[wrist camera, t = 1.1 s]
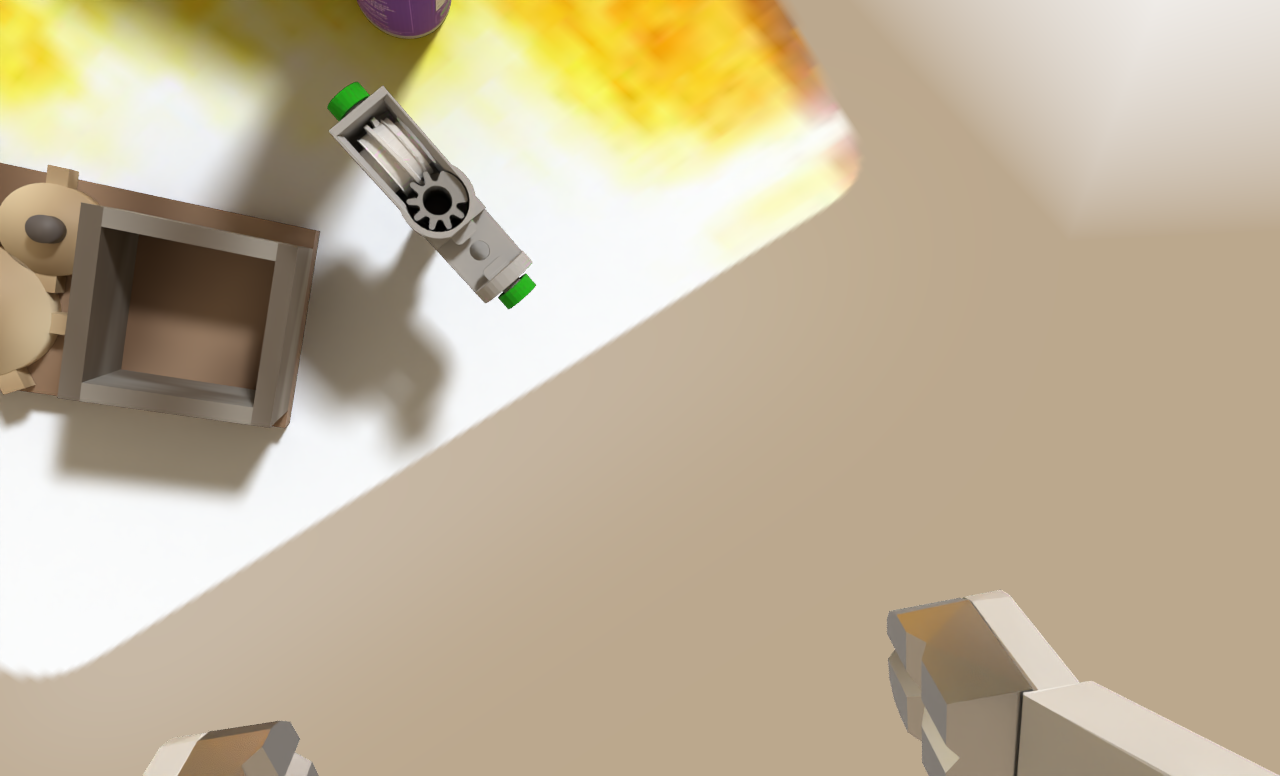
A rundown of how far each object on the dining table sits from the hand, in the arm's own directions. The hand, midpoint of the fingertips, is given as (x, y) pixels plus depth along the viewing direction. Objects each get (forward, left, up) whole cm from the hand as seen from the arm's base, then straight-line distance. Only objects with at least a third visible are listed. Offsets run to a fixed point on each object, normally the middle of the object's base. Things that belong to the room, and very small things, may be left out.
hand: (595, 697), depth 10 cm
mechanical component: (-4, +8, -32) cm, 33 cm away
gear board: (-17, +1, -32) cm, 36 cm away
